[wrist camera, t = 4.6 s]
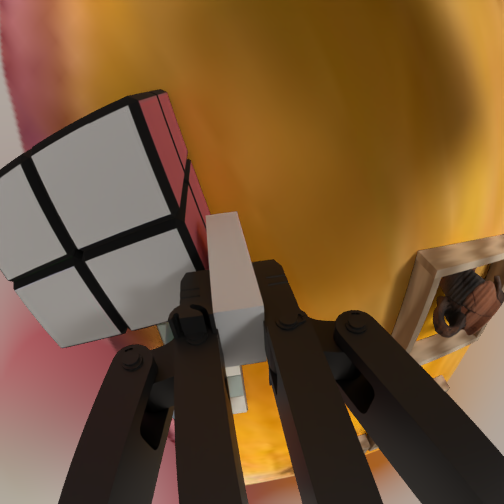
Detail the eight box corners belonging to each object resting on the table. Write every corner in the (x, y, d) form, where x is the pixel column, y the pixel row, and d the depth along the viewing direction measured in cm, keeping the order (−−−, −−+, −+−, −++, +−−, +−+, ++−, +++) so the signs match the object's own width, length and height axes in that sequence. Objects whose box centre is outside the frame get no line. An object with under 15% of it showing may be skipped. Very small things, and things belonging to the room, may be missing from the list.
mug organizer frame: (505, 233, 29) (522, 247, 26) (466, 325, 38) (477, 340, 36) (417, 250, 28) (437, 270, 25) (383, 356, 37) (393, 375, 34)
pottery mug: (480, 233, 29) (521, 280, 25) (454, 266, 37) (488, 305, 33) (424, 294, 28) (470, 350, 24) (402, 318, 36) (439, 363, 32)
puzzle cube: (166, 87, 17) (133, 92, 8) (212, 217, 22) (223, 310, 14) (42, 147, 17) (-42, 203, 8) (97, 257, 22) (61, 353, 14)
